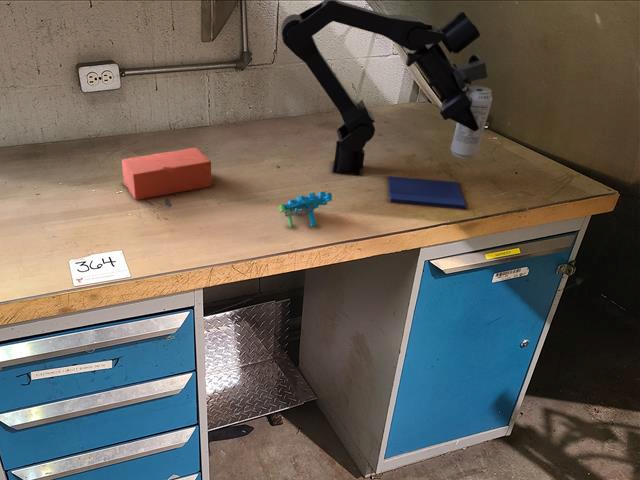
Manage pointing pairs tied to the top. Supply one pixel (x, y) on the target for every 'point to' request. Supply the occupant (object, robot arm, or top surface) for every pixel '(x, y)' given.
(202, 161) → the brick
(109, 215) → the top surface
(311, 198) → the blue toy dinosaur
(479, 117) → the energy drink can
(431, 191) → the book
